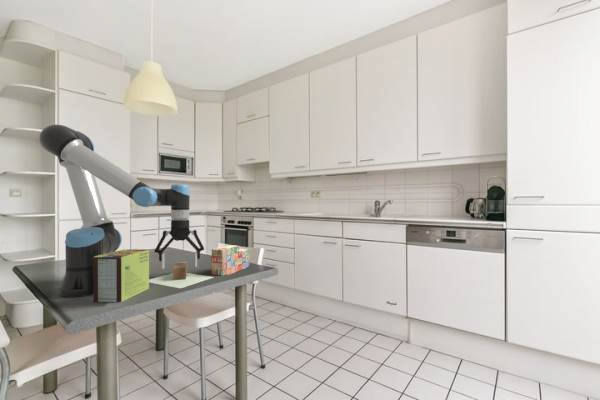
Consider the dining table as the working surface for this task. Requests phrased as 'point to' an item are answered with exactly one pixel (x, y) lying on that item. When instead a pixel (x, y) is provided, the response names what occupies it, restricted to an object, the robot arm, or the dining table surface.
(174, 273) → the walnut block
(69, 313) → the dining table surface
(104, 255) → the protein box
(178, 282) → the sage board
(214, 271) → the multicolored rectangular box
